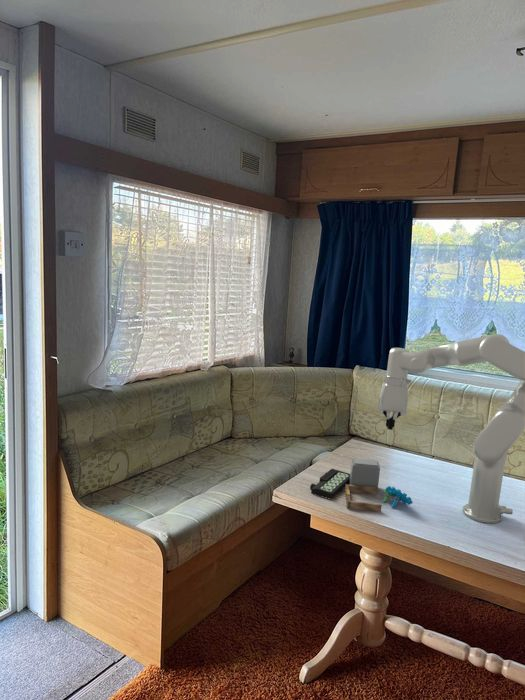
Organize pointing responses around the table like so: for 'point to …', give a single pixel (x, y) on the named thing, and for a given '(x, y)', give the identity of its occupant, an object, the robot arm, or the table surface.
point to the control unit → (364, 473)
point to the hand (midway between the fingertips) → (389, 428)
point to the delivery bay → (361, 504)
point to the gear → (396, 496)
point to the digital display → (330, 483)
